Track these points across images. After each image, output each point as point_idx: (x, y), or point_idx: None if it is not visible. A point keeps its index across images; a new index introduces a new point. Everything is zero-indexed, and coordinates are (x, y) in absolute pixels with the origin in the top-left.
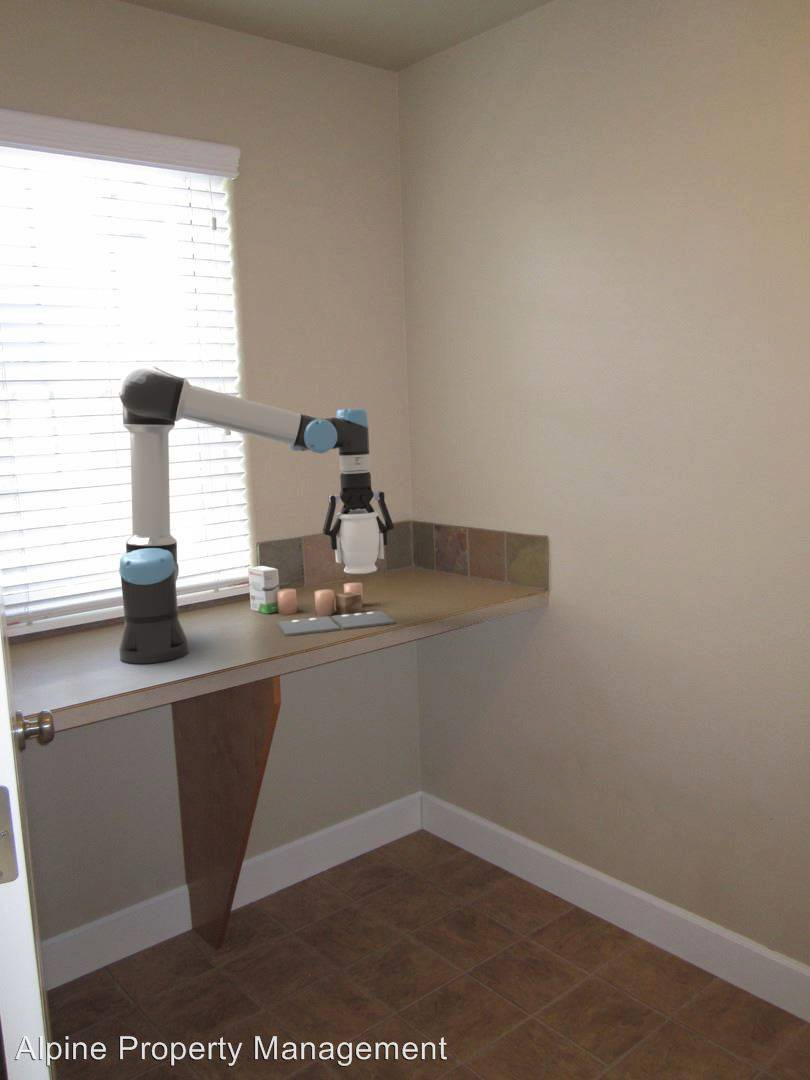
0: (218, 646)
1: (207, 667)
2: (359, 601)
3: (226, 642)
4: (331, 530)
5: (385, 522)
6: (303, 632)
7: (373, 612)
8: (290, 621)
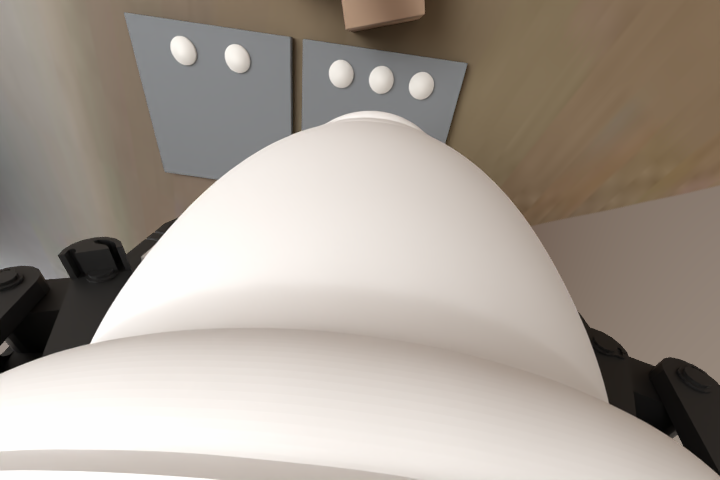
0: (23, 167)
1: (56, 277)
2: (412, 18)
3: (29, 143)
4: (71, 308)
5: (677, 429)
6: (206, 177)
7: (430, 89)
8: (166, 35)
